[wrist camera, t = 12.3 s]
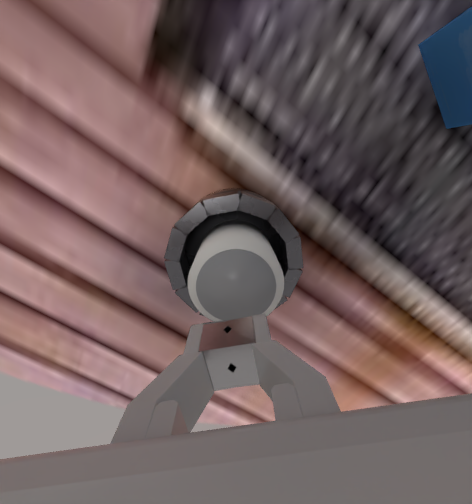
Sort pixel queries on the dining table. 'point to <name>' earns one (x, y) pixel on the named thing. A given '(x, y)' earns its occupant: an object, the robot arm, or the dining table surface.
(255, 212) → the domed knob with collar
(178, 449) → the robot arm
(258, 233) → the cap
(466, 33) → the perfume bottle
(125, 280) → the dining table surface
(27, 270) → the dining table surface
